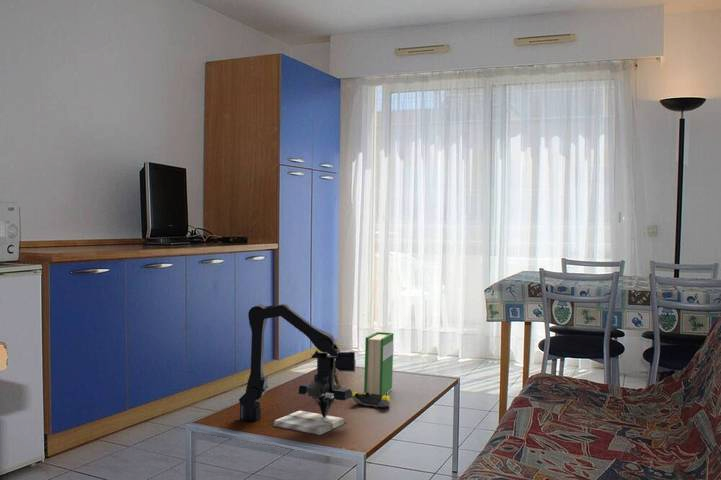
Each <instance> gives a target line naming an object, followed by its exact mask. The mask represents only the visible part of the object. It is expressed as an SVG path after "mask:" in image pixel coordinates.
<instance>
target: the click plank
mask: <svg viewBox="0 0 721 480" xmlns="http://www.w3.org/2000/svg"><path fill="white" fill-rule="evenodd" d="M287 416H291V417H296V418H302V419H307V420H313V421H318V422H323V423H329V424H332V429H334V428H335V429H337V427H338V428H339V427H341V426H340V425H342V426H343V424H344V423H345V418H343V417H338V416H333V415H328V414H327V416H326V417H323V416H322V413H315V412H312V411H311V412H310V411H304V410H297V411H295V412H292V413H290V414H288V415H287ZM344 425H345V424H344ZM335 429H334V430H335Z"/></svg>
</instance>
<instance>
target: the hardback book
mask: <svg viewBox="0 0 721 480" xmlns="http://www.w3.org/2000/svg"><path fill="white" fill-rule="evenodd" d="M394 334H395V333H393V332H380V331H376V332H374V333H372V334H370V335H368V336H366V337H365V349H364V381H363V383H364V384H363V394H364V393H366V392H368V393H369V394H370V395H371V394H378V395H382V396H384V395H385V394H386V393H387V392H388V391H389V390H390V389H391V388H392V389H393V372H394V371H393V367H394V366H393V364H394V361H393V360H394Z"/></svg>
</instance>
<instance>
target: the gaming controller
mask: <svg viewBox="0 0 721 480" xmlns="http://www.w3.org/2000/svg"><path fill="white" fill-rule="evenodd" d="M351 399H352V400H353V401H354V402H355V403H356V404H359V405H361V406H364V407H366V406H369V407H371V406H372V407H374V408H387V407H388V406H389V405H391V396H390V395H389V394H387V395H385V396H382V395H378V394H371V395H370V394H369V393H368V392H366V393H364V392H363V393H362V394H361V393H359V392H357V391H354V392H352V398H351Z"/></svg>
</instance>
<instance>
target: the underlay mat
mask: <svg viewBox="0 0 721 480" xmlns="http://www.w3.org/2000/svg"><path fill="white" fill-rule="evenodd" d="M346 424H347V422H344V424H342V425H340V426H338V427H336V428H334V429H332V430H330V431H327V432H325V433H323V434H321V435H319V434H314V433H311V435H312V434H313V435H316V436H322V435H325V434H327V433H329V432H331V431H333V430H336V429H337V428H339V427H342V426H343V425H346ZM274 427H276V428H279V427H278V426H274ZM280 428H281V429H284V428H283V427H280ZM285 429H287V430H289V429H288V428H285ZM291 430H292V431H294V430H293V429H290V431H291ZM295 431H297V432H299V431H298V430H295ZM300 432H302V433H304V432H303V431H300ZM305 433H307V434H309V432H305Z"/></svg>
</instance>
